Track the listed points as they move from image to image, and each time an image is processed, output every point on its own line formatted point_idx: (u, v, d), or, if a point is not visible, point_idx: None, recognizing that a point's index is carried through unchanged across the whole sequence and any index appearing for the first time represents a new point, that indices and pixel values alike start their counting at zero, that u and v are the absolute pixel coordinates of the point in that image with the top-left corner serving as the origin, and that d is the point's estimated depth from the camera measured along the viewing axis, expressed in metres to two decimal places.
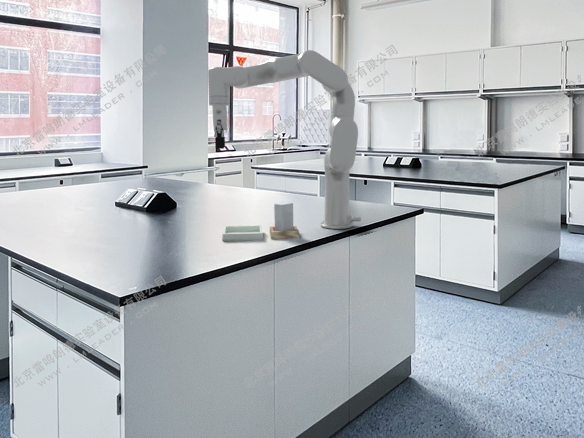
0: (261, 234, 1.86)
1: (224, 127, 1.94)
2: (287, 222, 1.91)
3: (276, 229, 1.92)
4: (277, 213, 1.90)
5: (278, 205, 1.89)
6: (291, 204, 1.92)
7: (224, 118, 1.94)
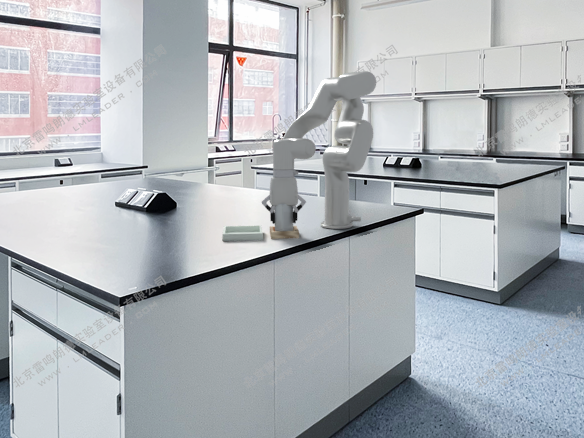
0: (261, 234, 1.86)
1: None
2: (287, 222, 1.91)
3: (276, 229, 1.92)
4: (277, 213, 1.90)
5: (278, 205, 1.89)
6: None
7: None
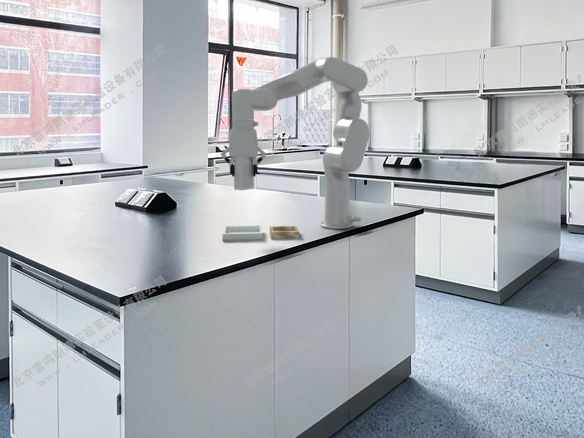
0: (261, 234, 1.86)
1: None
2: (247, 175, 1.86)
3: (235, 182, 1.87)
4: (237, 165, 1.85)
5: (237, 157, 1.85)
6: None
7: None
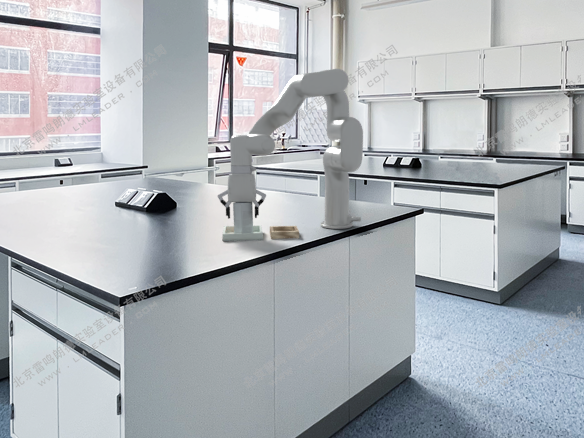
0: (261, 234, 1.86)
1: None
2: (246, 221, 1.90)
3: (235, 228, 1.90)
4: (236, 212, 1.89)
5: (237, 204, 1.88)
6: (250, 203, 1.90)
7: None
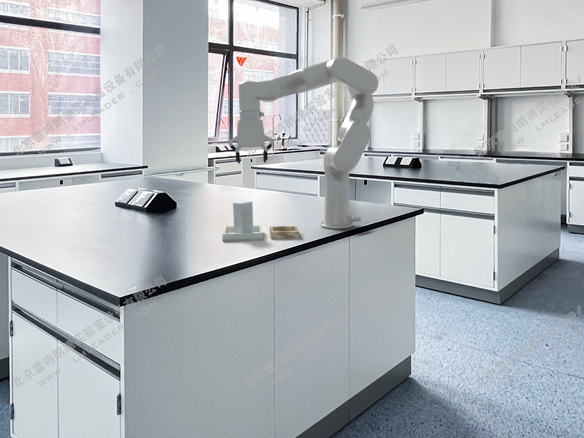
0: (261, 234, 1.86)
1: None
2: (246, 221, 1.90)
3: (235, 228, 1.90)
4: (236, 212, 1.89)
5: (237, 204, 1.88)
6: (250, 203, 1.90)
7: None
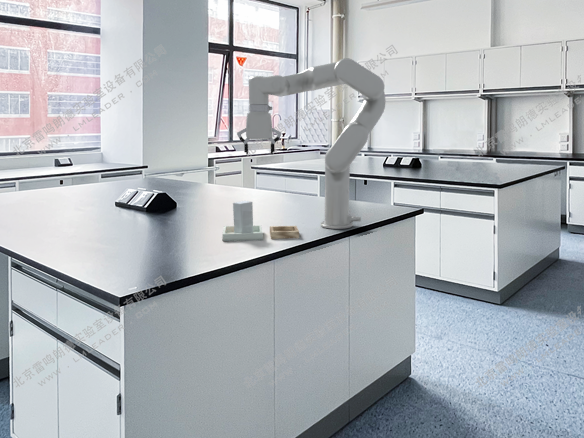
0: (261, 234, 1.86)
1: None
2: (246, 221, 1.90)
3: (235, 228, 1.90)
4: (236, 212, 1.89)
5: (237, 204, 1.88)
6: (250, 203, 1.90)
7: None
